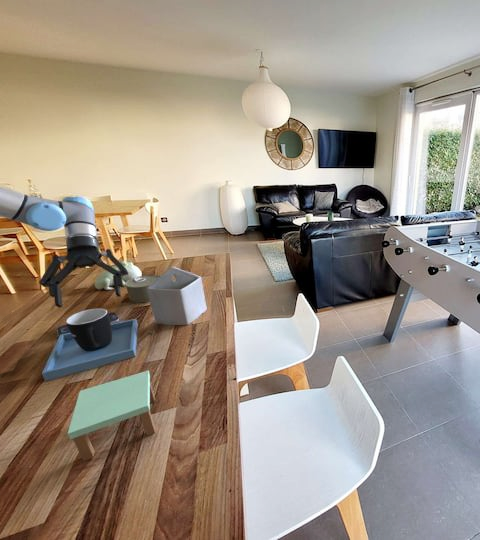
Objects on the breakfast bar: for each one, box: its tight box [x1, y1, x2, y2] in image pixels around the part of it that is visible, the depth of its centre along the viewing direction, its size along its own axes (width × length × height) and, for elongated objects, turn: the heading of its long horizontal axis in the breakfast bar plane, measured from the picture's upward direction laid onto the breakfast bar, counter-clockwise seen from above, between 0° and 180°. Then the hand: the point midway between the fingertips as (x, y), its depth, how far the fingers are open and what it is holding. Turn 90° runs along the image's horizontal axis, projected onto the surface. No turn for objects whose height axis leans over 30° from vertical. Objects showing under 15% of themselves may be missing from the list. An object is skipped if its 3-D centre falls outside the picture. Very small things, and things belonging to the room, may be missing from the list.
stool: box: [67, 370, 156, 462], centre depth 61 cm, size 12×12×8 cm
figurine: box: [94, 259, 143, 291], centre depth 124 cm, size 10×16×10 cm, turn 133°
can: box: [124, 274, 161, 304], centre depth 116 cm, size 12×12×7 cm
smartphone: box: [56, 312, 120, 338], centre depth 96 cm, size 8×1×15 cm
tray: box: [41, 318, 139, 382], centre depth 85 cm, size 19×20×2 cm
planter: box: [147, 266, 208, 326], centre depth 98 cm, size 16×8×19 cm, turn 131°
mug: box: [65, 308, 112, 351], centre depth 84 cm, size 12×9×10 cm
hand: (89, 300), depth 87 cm, fingers open, 13 cm apart
